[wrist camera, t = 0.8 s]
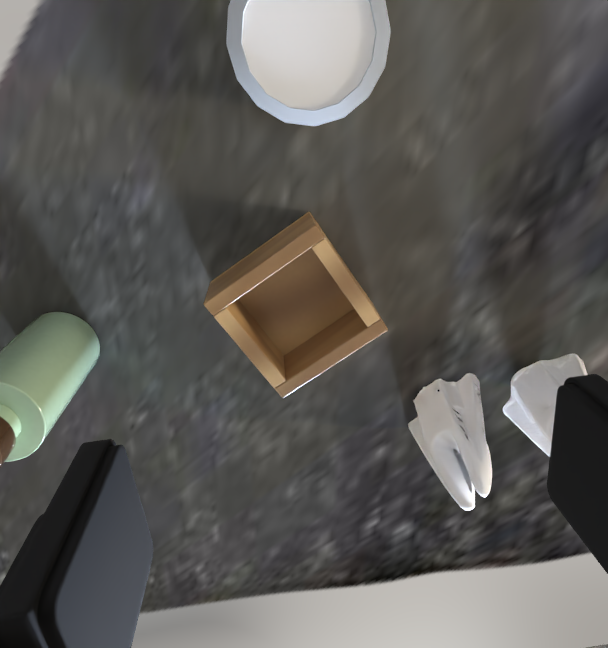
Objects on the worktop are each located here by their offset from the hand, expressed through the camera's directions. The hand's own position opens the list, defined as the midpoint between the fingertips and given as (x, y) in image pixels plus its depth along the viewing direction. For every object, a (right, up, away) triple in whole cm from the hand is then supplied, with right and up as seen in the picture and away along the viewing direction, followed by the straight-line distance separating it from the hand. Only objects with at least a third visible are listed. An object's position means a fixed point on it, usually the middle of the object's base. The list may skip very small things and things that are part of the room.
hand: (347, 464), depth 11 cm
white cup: (-1, +18, +17) cm, 24 cm away
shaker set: (+12, -2, +26) cm, 28 cm away
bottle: (-16, +2, +22) cm, 27 cm away
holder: (-2, +5, +22) cm, 22 cm away
